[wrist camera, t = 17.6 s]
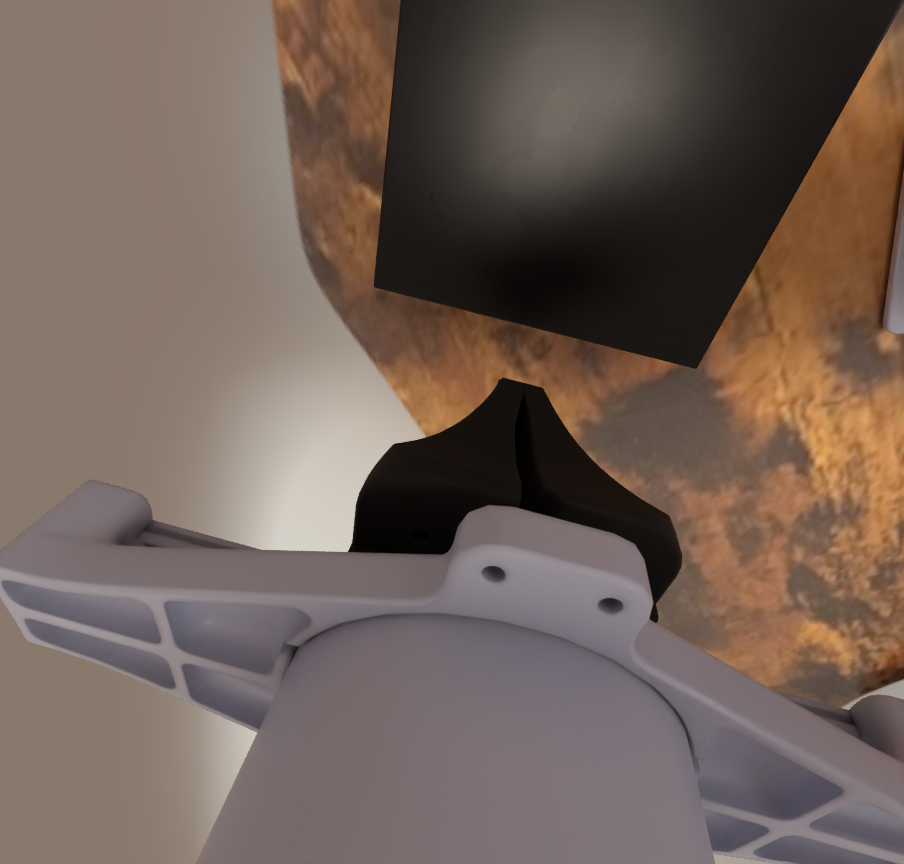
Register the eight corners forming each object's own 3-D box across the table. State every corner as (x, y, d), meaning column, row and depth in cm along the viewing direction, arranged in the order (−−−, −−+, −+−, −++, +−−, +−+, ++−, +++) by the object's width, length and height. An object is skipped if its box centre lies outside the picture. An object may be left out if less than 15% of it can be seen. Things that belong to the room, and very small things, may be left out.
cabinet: (463, -209, 14) (430, -330, 10) (889, -116, 13) (1021, -205, 10) (403, 257, 22) (372, 288, 18) (670, 324, 21) (696, 369, 18)
